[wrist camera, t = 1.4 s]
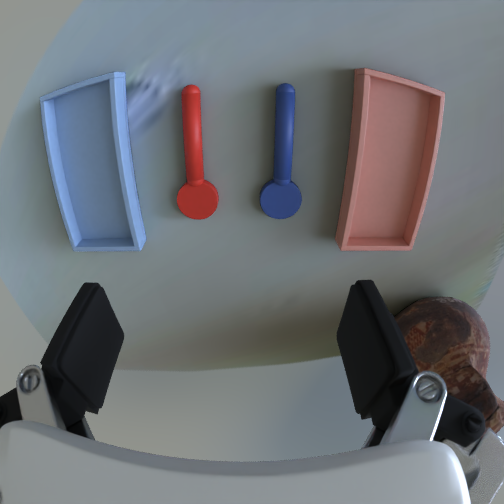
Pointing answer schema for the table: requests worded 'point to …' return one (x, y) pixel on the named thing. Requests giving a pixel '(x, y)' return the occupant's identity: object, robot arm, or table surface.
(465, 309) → the jug
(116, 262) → the table surface
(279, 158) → the navy spoon
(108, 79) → the blue tray
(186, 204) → the red spoon
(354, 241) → the rose tray
